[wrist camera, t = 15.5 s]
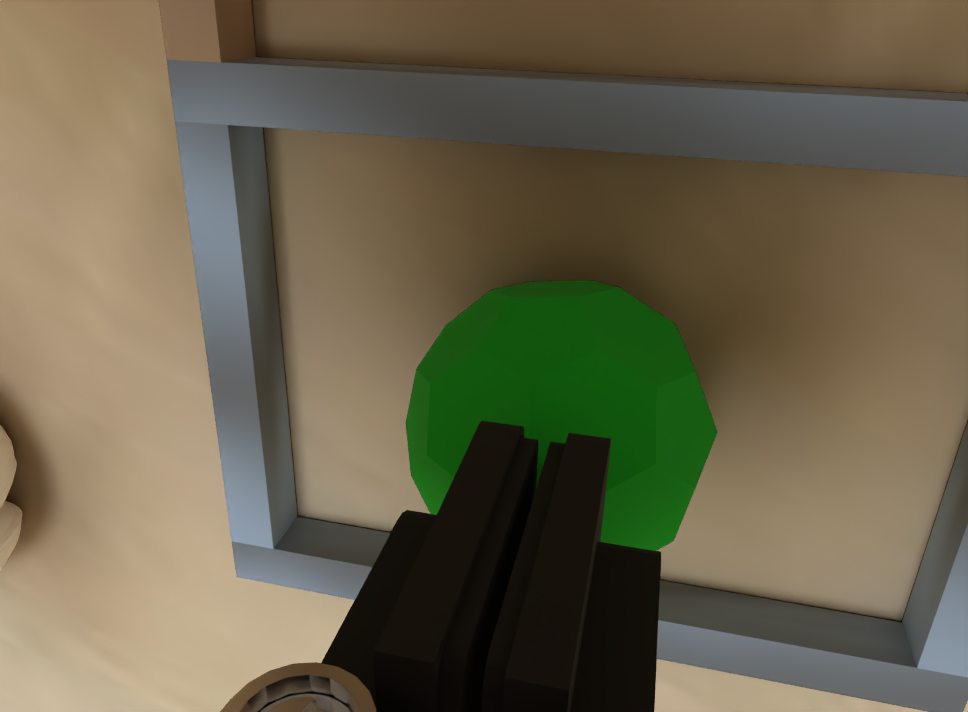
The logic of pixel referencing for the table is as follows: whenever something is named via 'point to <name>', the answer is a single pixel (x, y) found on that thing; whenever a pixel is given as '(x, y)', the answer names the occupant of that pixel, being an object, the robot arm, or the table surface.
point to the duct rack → (558, 124)
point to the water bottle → (4, 517)
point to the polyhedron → (569, 397)
